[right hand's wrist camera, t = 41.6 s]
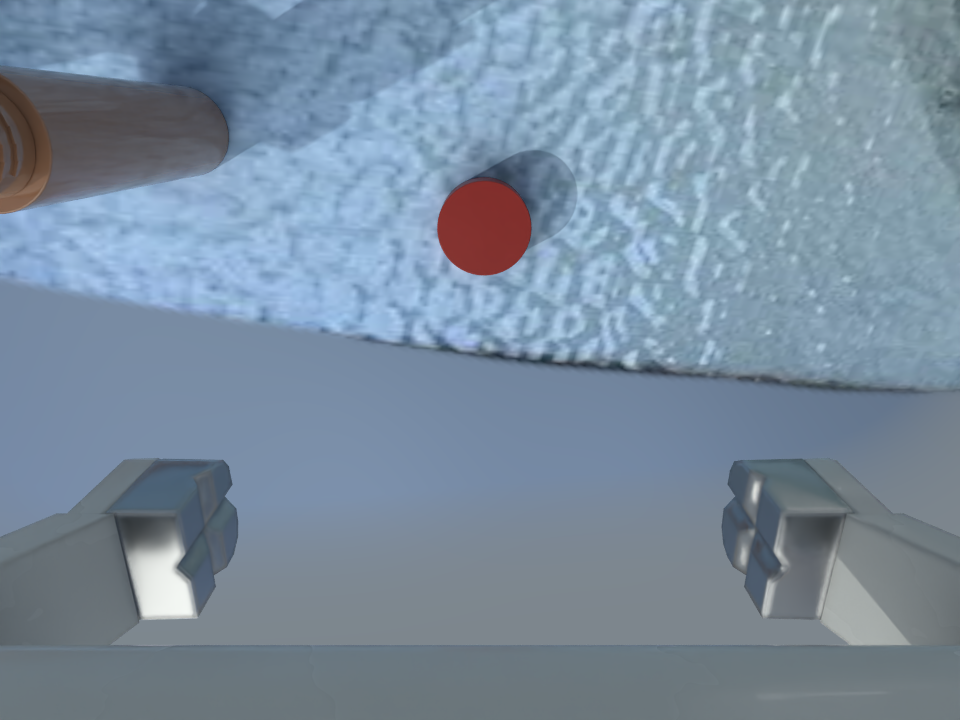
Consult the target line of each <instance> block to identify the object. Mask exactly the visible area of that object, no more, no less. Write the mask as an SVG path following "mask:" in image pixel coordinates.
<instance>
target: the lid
mask: <svg viewBox="0 0 960 720" xmlns="http://www.w3.org/2000/svg"><path fill="white" fill-rule="evenodd" d="M437 231H438V238H439V242H440V245H441V248H442V250H443V251H444V253H445V255H446V256H447V257H448V259H449V260H450V261H451V262H452V263H453V264H454V265H456V266H457V267H458V268H460V269H462V270H464V271H466V272H468V273H471V274H475V275H493V274H497V273H500V272H503V271H505V270H507V269H509V268H510V267H512V266H513V265H514V264H515V263H516V262H518V260H519V259H520V258H521V257H522V255H523V254H524V253H525V251H526V249H527V247H528V244H529V241H530V236H531V219H530V215H529V212H528V209H527V207H526V205H525V203H524V201H523V199H522V198H521V196H520V195H519V194H518V193H517V191H516V190H515V189H514V188H512V187H511V186H510V185H508V184H507V183H505V182H503V181H501V180H498V179H495V178H489V177H480V178H474V179H470V180H468V181H465V182H463V183H462V184H460V185H459V186H457V187H456V188H455V189H454V190H453V191H452V192H451V193H450V194H449V195H448V197H447V199H446V200H445V202H444V204H443V207H442V209H441V211H440V214H439V218H438V226H437Z"/></svg>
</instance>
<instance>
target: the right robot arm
mask: <svg viewBox="0 0 960 720" xmlns="http://www.w3.org/2000/svg"><path fill="white" fill-rule="evenodd" d="M231 486H232V480H231V475H230V470H229V466H228V465H227V464H226V463H225V461H224V460H201V459H159V458H144V459H127V460H123V461H122V462H121V463H120V464H119V465H118V466H117V467H116V468H115V469H114V470H113V471H112V472H111V473H110V474H109V475H108V476H106V477H105V478H104V479H103V480H102V481H101V482H100V483H99V484H98V485H97V486H96V487H95V488H94V489H93V490H92V491H91V492H89V493H88V494H87V495H86V496H85V497H84V498H83V499H82V500H81V501H80V502H79V503H78V504H77V505H76V506H75V507H73V508H72V509H71V510H70V511H69V512H68V513H67V514H54V515H52V516H50V517H47V518H45V519H42V520H40V521H37V522H35V523H33V524H30V525H28V526H25V527H23V528H21V529H18V530H16V531H13V532H11V533H8V534H6V535H4V536H1V537H0V720H960V537H959V536H956V535H954V534H951V533H949V532H947V531H944V530H942V529H939V528H937V527H935V526H932V525H930V524H927V523H925V522H922V521H920V520H918V519H915V518H913V517H910V516H908V515H906V514H893V513H892V512H891V511H890V510H889V509H888V508H887V507H886V506H885V505H883V504H882V503H881V502H880V501H879V500H878V499H877V498H876V497H875V496H874V495H873V494H872V493H871V492H870V491H869V490H868V489H866V488H865V487H864V486H863V485H862V484H861V483H860V482H859V481H858V480H857V479H856V478H855V477H854V476H853V475H852V474H851V473H849V472H848V471H847V470H846V469H845V468H844V467H843V466H842V465H841V464H840V463H839V462H838V461H836V460H833V459H830V458H816V459H772V460H740V461H734V463H733V465H732V467H731V470H730V474H729V479H728V486H729V487H730V489H731V490H732V492H733V494H734V495H735V497H734V498H733V499H732V500H731V501H730V502H729V504H728V505H727V506H726V507H725V508H724V511H723V519H722V536H723V545H724V548H725V551H726V554H727V557H728V559H729V560H730V562H731V564H732V566H733V567H734V568H735V569H737V570H739V571H740V572H742V573H743V574H745V575H746V579H745V585H744V587H745V589H746V591H747V592H748V594H749V596H750V598H751V599H752V601H753V603H754V605H755V606H756V608H757V610H758V611H759V613H760V615H761V617H762V618H774V619H810V620H821V623H822V624H823V625H825V626H826V627H827V628H829V629H830V630H832V631H833V632H834V633H835V634H837V635H838V636H839V637H841V638H842V639H843V640H845V641H846V642H847V643H849V644H850V645H110V644H112V643H113V642H114V641H116V640H117V639H118V638H119V637H121V636H122V635H123V634H125V633H126V632H128V631H129V630H130V629H132V628H133V627H134V626H135V625H137V624H138V623H139V620H149V619H185V618H198V617H199V615H200V613H201V612H202V610H203V608H204V606H205V604H206V603H207V601H208V599H209V598H210V596H211V594H212V592H213V591H214V589H215V587H216V585H215V579H214V575H215V574H217V573H218V572H220V571H221V570H223V569H224V568H226V567H227V566H228V564H229V562H230V560H231V558H232V557H233V555H234V551H235V547H236V543H237V538H238V517H237V511H236V508H235V507H234V506H233V505H232V504H231V503H230V502H229V500H228V499H227V498H226V497H225V495H226V494H227V492H228V490H229V489H230V487H231Z"/></svg>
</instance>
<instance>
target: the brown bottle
mask: <svg viewBox="0 0 960 720" xmlns="http://www.w3.org/2000/svg"><path fill="white" fill-rule="evenodd" d="M228 141H229V136H228V128H227V124H226V121H225V119H224V116H223V114H222V113H221V111H220V109H219V108H218V106H217V105H216V104H215V103H214V102H213V101H212V100H211V99H210V98H209V97H208V96H206V95H205V94H204V93H202V92H200V91H198V90H196V89H193V88H190V87H186V86H178V85H169V84H161V83H152V82H143V81H134V80H125V79H116V78H108V77H99V76H90V75H81V74H72V73H63V72H55V71H46V70H37V69H28V68H19V67H10V66H2V65H0V214H6V213H12V212H17V211H22V210H27V209H32V208H37V207H42V206H47V205H52V204H57V203H62V202H67V201H73V200H78V199H83V198H88V197H93V196H98V195H103V194H108V193H113V192H118V191H123V190H128V189H133V188H138V187H143V186H148V185H153V184H158V183H163V182H168V181H173V180H178V179H183V178H189V177H194V176H199V175H203V174H206V173H208V172H210V171H212V170H213V169H215V168H216V167H217V166H218V165H219V164H220V163H221V161H222V160H223V158H224V156H225V154H226V152H227V148H228Z"/></svg>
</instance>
